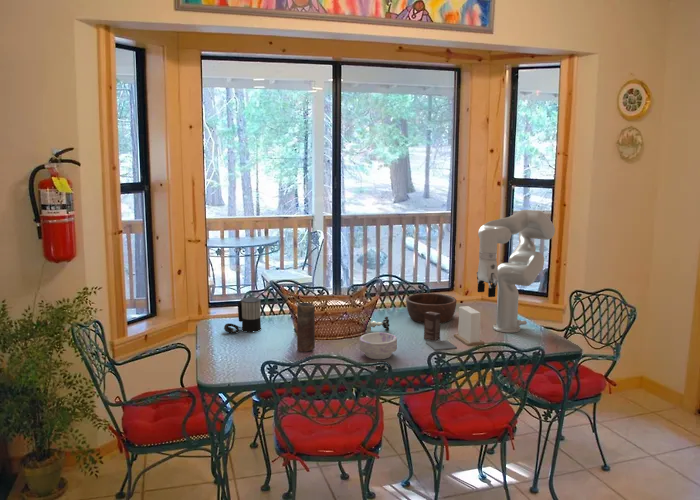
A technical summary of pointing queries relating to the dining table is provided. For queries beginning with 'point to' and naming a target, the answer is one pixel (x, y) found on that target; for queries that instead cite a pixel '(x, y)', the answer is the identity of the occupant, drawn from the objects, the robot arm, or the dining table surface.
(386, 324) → the valve
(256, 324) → the milk frother
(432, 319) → the box
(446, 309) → the wooden bowl
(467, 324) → the mounted unit
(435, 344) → the slate mat
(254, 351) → the dining table surface
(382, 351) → the white bowl
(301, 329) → the candle
